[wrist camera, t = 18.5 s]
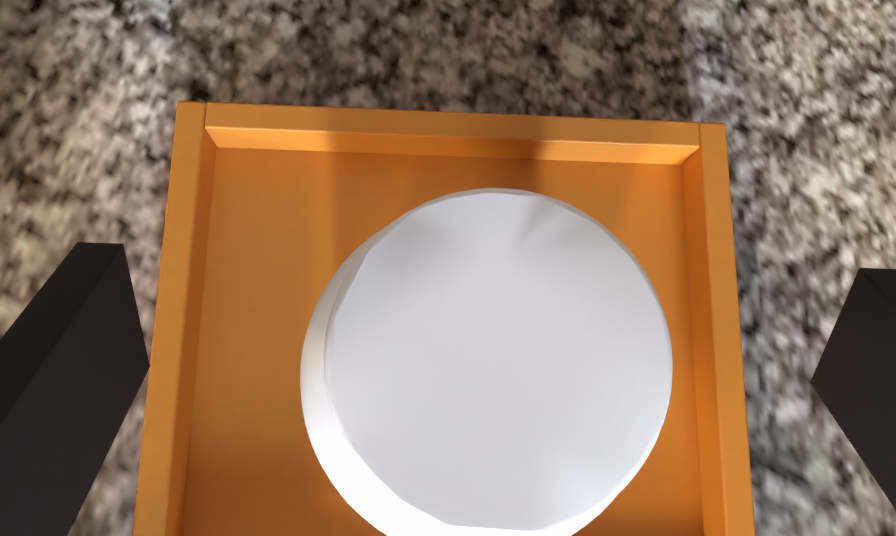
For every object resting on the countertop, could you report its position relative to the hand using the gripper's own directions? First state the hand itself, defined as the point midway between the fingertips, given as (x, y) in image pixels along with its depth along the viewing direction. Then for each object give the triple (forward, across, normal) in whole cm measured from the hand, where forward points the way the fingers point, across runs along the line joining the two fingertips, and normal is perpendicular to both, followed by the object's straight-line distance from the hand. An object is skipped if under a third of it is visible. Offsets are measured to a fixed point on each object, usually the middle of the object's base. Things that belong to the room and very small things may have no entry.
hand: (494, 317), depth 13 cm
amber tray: (+5, 0, -6) cm, 8 cm away
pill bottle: (+4, 0, -6) cm, 8 cm away
